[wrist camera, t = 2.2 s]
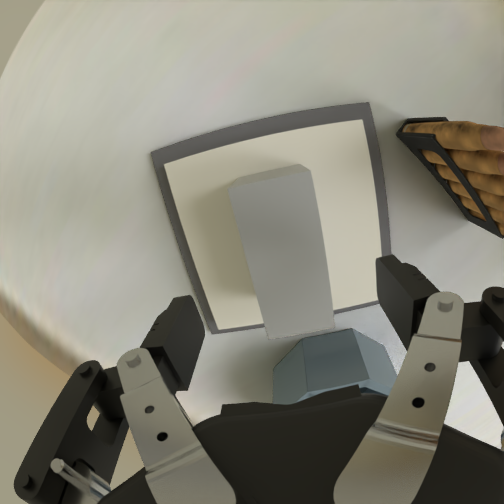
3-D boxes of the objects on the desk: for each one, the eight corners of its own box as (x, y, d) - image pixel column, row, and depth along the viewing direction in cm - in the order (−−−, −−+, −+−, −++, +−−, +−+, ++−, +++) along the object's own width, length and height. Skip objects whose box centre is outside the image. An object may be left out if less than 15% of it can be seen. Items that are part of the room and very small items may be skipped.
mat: (366, 103, 16) (369, 102, 16) (389, 297, 22) (391, 300, 21) (153, 152, 19) (150, 152, 18) (212, 331, 24) (211, 334, 24)
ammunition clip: (479, 206, 18) (574, 257, 7) (469, 221, 19) (562, 281, 8) (407, 117, 16) (523, 110, 5) (395, 134, 17) (510, 139, 6)
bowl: (385, 320, 23) (409, 367, 17) (380, 393, 27) (393, 436, 21) (266, 344, 24) (263, 398, 19) (286, 412, 28) (286, 457, 22)
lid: (357, 120, 17) (392, 111, 11) (378, 291, 21) (405, 337, 15) (170, 163, 19) (129, 172, 13) (221, 321, 23) (206, 372, 18)
